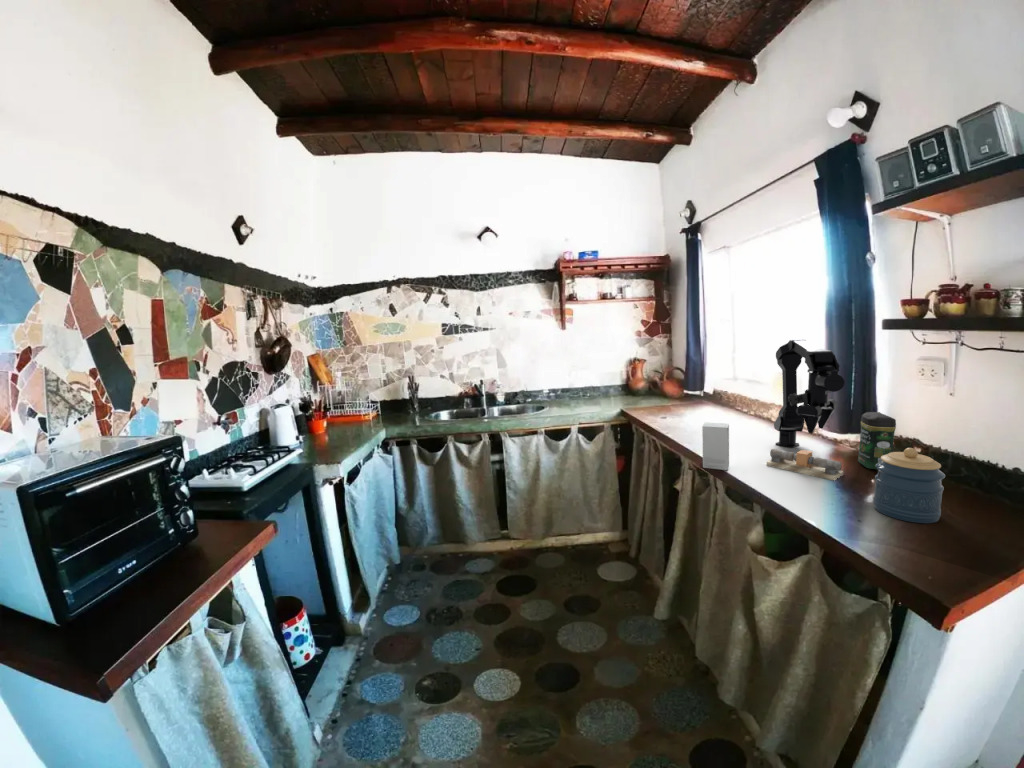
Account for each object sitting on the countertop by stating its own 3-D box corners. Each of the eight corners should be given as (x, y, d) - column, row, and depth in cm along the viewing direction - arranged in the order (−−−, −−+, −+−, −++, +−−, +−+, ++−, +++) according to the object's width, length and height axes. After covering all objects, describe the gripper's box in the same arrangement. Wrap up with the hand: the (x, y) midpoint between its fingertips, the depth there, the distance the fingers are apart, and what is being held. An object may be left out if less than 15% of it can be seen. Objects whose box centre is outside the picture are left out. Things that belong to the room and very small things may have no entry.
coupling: (792, 466, 142) (793, 452, 141) (798, 462, 144) (798, 449, 144) (809, 469, 138) (810, 455, 137) (814, 466, 140) (815, 452, 140)
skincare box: (729, 465, 149) (730, 423, 146) (727, 471, 143) (728, 427, 141) (703, 462, 153) (704, 421, 151) (701, 467, 148) (702, 425, 145)
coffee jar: (853, 460, 147) (857, 410, 145) (881, 462, 145) (885, 410, 142) (867, 470, 138) (871, 416, 135) (896, 472, 136) (901, 416, 133)
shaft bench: (766, 465, 147) (767, 451, 146) (776, 460, 152) (777, 446, 151) (834, 480, 131) (835, 465, 130) (843, 474, 136) (844, 459, 135)
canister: (880, 519, 106) (886, 453, 104) (866, 499, 117) (871, 439, 115) (950, 528, 100) (958, 458, 98) (928, 506, 111) (934, 443, 109)
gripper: (802, 381, 154) (800, 422, 157) (780, 388, 144) (778, 431, 146) (838, 384, 145) (836, 427, 148) (818, 391, 135) (815, 437, 137)
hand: (815, 430), depth 145 cm, fingers open, 9 cm apart
